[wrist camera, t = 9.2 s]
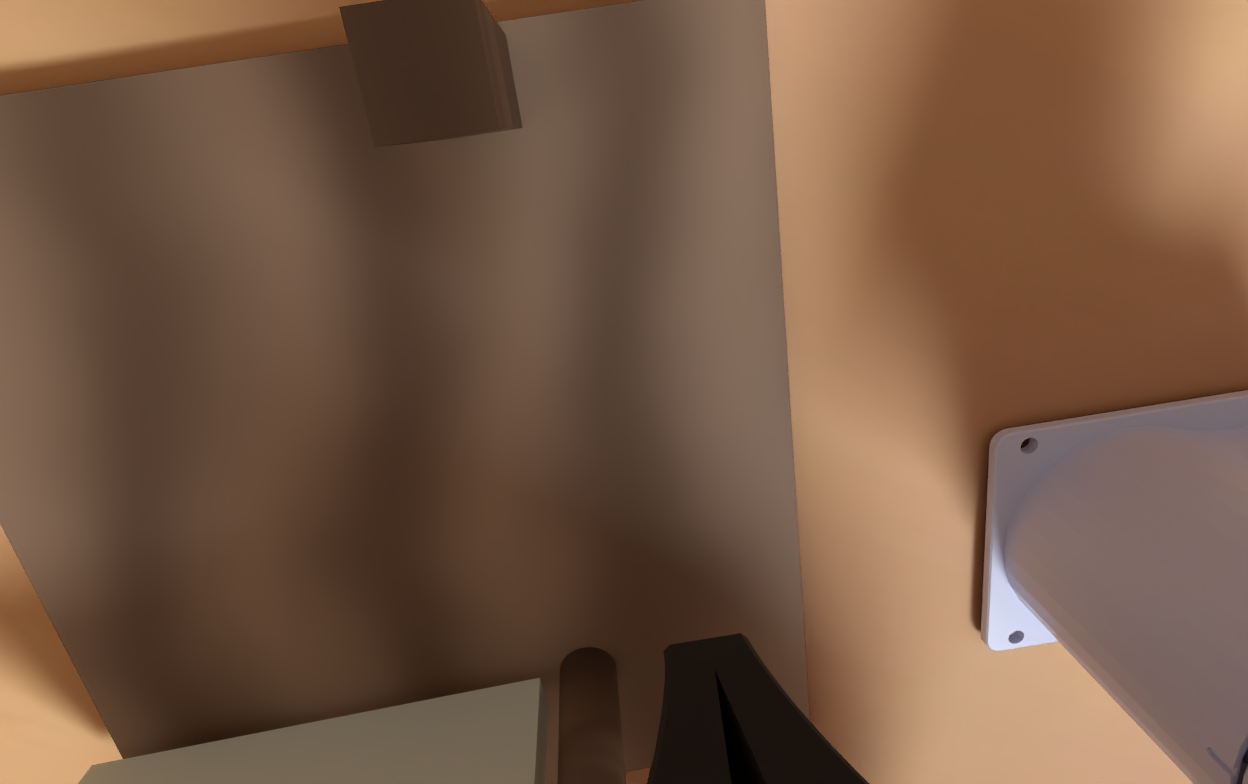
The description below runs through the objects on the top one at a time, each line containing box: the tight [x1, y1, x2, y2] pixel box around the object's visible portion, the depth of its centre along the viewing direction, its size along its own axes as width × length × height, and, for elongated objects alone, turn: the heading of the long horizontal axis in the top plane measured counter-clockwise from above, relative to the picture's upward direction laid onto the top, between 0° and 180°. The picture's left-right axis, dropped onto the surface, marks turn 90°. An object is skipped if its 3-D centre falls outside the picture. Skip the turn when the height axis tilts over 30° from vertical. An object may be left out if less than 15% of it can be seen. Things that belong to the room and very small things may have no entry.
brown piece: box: [0, 0, 810, 784], centre depth 18 cm, size 22×23×7 cm
